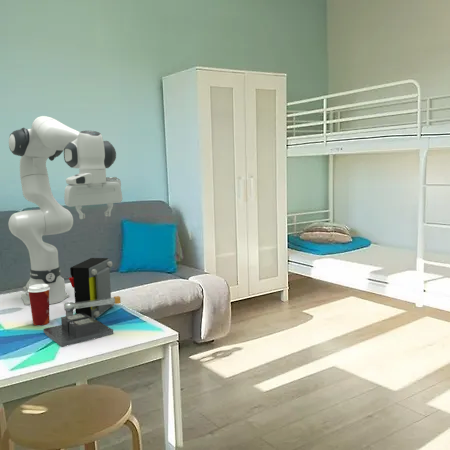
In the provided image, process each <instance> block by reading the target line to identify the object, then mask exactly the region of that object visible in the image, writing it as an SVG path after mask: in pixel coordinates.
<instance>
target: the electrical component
mask: <svg viewBox="0 0 450 450" xmlns="http://www.w3.org/2000/svg"><path fill="white" fill-rule="evenodd" d="M110 260H111V259H110V258H108V257H90V258H88V259H86V260H84V261H81V262H80V263H77V264H74V265H72V266H71V267H70V269H69V271H70V276H71V277H69V278H68V280H69V282H70V284H71V287H72V288H73V290H74V303H75V302H83V301H90V300H98V299H105V298H112V292H111V291H112V290H111V275H110V274H111V271H110V268H111V267H113V262H112V260H111V261H110ZM115 305H116V304H115V303H114V304H107V305H100V306H92V307H85V308H78V309H75V314H79V313H85V314H86V315H88V316H90V317H92V318H94V319H95V320H96V318H99V317H100V316H101V315H102V314H104V313H105V312H106V311H108V310H109V309H111V308H112V307H114V306H115Z"/></svg>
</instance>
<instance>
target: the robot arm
mask: <svg viewBox="0 0 450 450" xmlns="http://www.w3.org/2000/svg"><path fill="white" fill-rule="evenodd" d="M8 146H9V147H8V148H9V150H10V152H11V153H12V154H13V155H15V156H19V157H20V158H19V159H20V160H19V178H20V183H21V189H22V195H23V197H24V199H25V200H27V201H28V202H30V203H32V204H35V205H36V206H37V207H38V208H39V209H30V210H22V211H18V212H15V213H12V214H11V215H10V217H9V219H8V229H9V231H10V233H11V234H12V235H13V236H14V237H16V238H18V239H19V240H20V241H22V242H23V244H24V245H25V246H26V248H27V250H28V254H29V260H30V269H29V279H28V281H27V283H26V285H25V286H23V287H22V289H23V292H25V293H22V294H21V299H22V302H23V304H24V305H26V306H27V305H28V306H29V305H30V298H29V292H28V289H29V286H31V285H36V284H48V286H49V288H50V289H49V305H52V304H56V303H57V304H58V303H61V302H63V301H64V300H65V299H66V298H69V297H70V294H69V293H68V292H66V285H65V284H66V283H65V278H63V277H62V276H61V267H60V264H59V251H58V248H57V247H56V246H55V245H53V244H50V243H48V242H46V241H44V240H43V236H49V235H60V234H64V233H66V232H69V231H71V229H72V228H73V226H74V217H73V214H72V212H71V211H70V210H69V209H67V208H66V207H64V206H63V205H61V204H60V203H59V202H58V201H57V200H56V198H55V197H54V195H53V192H52V188H51V183H50V178H49V174H48V169H47V161H48V159H49V160H50V161H52V162H53V161H54V160H55V159H56V158H57V157H59V156H60V155H61V154H62V153H63V161H64V162H65V163H66V165H67V166H69V168H71V169H72V168H73V169H79V170H78V171H79V173H77V174H74V175H71V176H69V177H66V179H65V183H66V184H67V185H66V186H65V188H64V197H63V198H64V204H65V206H67V207H68V208H69V207H70V208H71V207H73V208H74V207H75V211H76V212H77V213H78V215H79V217H78V218H79V220H85V219H86V213H83V211H82V209H83V207H85V206H96V205H105V204H106V207H107V208H106V209H107V210H105V211H104V216H105V217H111V216H112V215H111V214H112V213H111V212H112V210H113V207H114V204H120V203H122V202H123V193H122V182H121V179H119V178H118V177H117V176H109V177H108V176H107V172H106V171H107V170H106V169H109V168H111V167H112V165H113V164H114V163H115V161H116V159H117V151H116V149H115V147H114V146H113V144H112V143H111V142H110V141H108V140H104V139H103V135H102V133H100V132H98V131H94V130H82V131H78V130H76V129H74V128H72V127H70V126H68V125H66V124H64V123H62V122H61V121H59V120H58V119H56V118H53V117H50V116H48V115H47V116H46V115H41V116H38V117H36V118H35V119H34V120H33V121H32V123H31V128H25V127H22V128H20V129H16V130H14V131H12V132H11V133H10V134H9V138H8ZM30 306H31V305H30Z"/></svg>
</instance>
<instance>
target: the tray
mask: <svg viewBox="0 0 450 450" xmlns="http://www.w3.org/2000/svg"><path fill="white" fill-rule="evenodd" d="M60 321H61V322H60V325H54V326H50V327H47V328H43V334H44V333H45V334H44V335H45V336H47V337H48V338H49V339H51V340H52V341H53V342H55V343H56V344H57V345H59V346H60V347H61V348H63V347H68V346H71V345H76V344H79V343H83V342H87V341H91V340H95V339H98V337H99V338H103V337H107V336H110V335H114V329H113V328H111V327H109V326H108V325H106V324H104V323H102V322H100V321H99V320H97V319H96V318H95V319H94V318H92V317H90V316H88V315H86V314H85V313H79V314H76V313H75V314H74V310H71V311H65V316H62V317H60ZM102 336H103V337H102ZM94 338H95V339H94ZM67 345H68V346H67Z"/></svg>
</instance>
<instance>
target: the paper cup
mask: <svg viewBox="0 0 450 450" xmlns="http://www.w3.org/2000/svg"><path fill="white" fill-rule="evenodd" d="M49 289H50V288H49V286H48V284H36V285H31V286H29V289H28V292H29V298H30V312H31V318H32V324H33V325H34V326H37V325H40V326H44V325H48V324H49V323H50V304H49Z"/></svg>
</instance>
